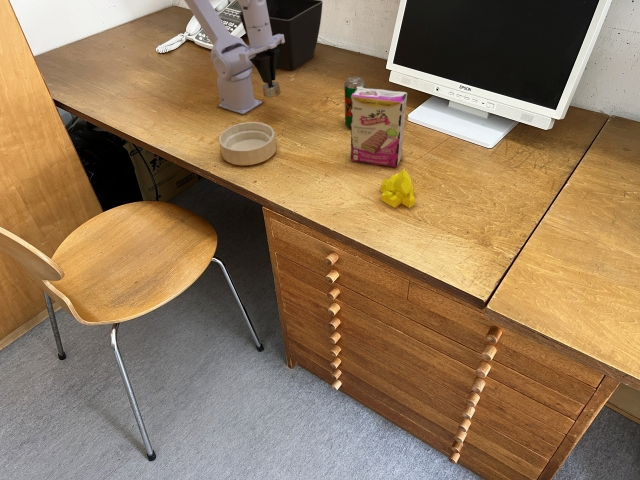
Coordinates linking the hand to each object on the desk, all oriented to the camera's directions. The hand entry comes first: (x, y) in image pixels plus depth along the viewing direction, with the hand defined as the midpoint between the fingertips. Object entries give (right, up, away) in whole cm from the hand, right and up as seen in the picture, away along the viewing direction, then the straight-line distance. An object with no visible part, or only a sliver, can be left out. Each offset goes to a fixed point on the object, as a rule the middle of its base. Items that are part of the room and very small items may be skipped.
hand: (269, 81), depth 120 cm
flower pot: (+2, +18, +35) cm, 40 cm away
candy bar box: (+26, -22, -10) cm, 35 cm away
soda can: (+22, -11, +3) cm, 24 cm away
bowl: (-4, -19, -4) cm, 20 cm away
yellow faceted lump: (+29, -31, -20) cm, 47 cm away
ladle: (0, -3, +2) cm, 3 cm away
